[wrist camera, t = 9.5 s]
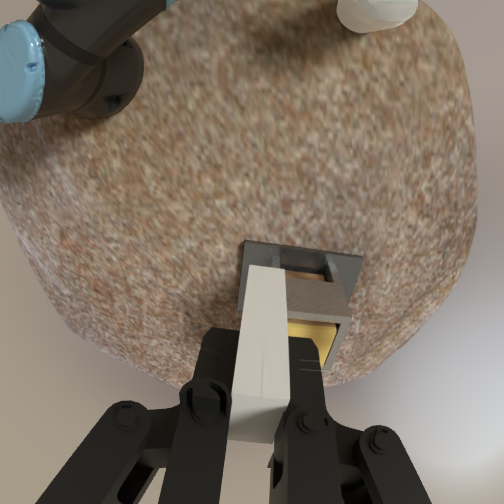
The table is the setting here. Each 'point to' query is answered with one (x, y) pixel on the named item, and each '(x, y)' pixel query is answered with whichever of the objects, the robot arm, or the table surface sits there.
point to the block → (312, 323)
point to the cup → (374, 14)
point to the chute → (309, 284)
